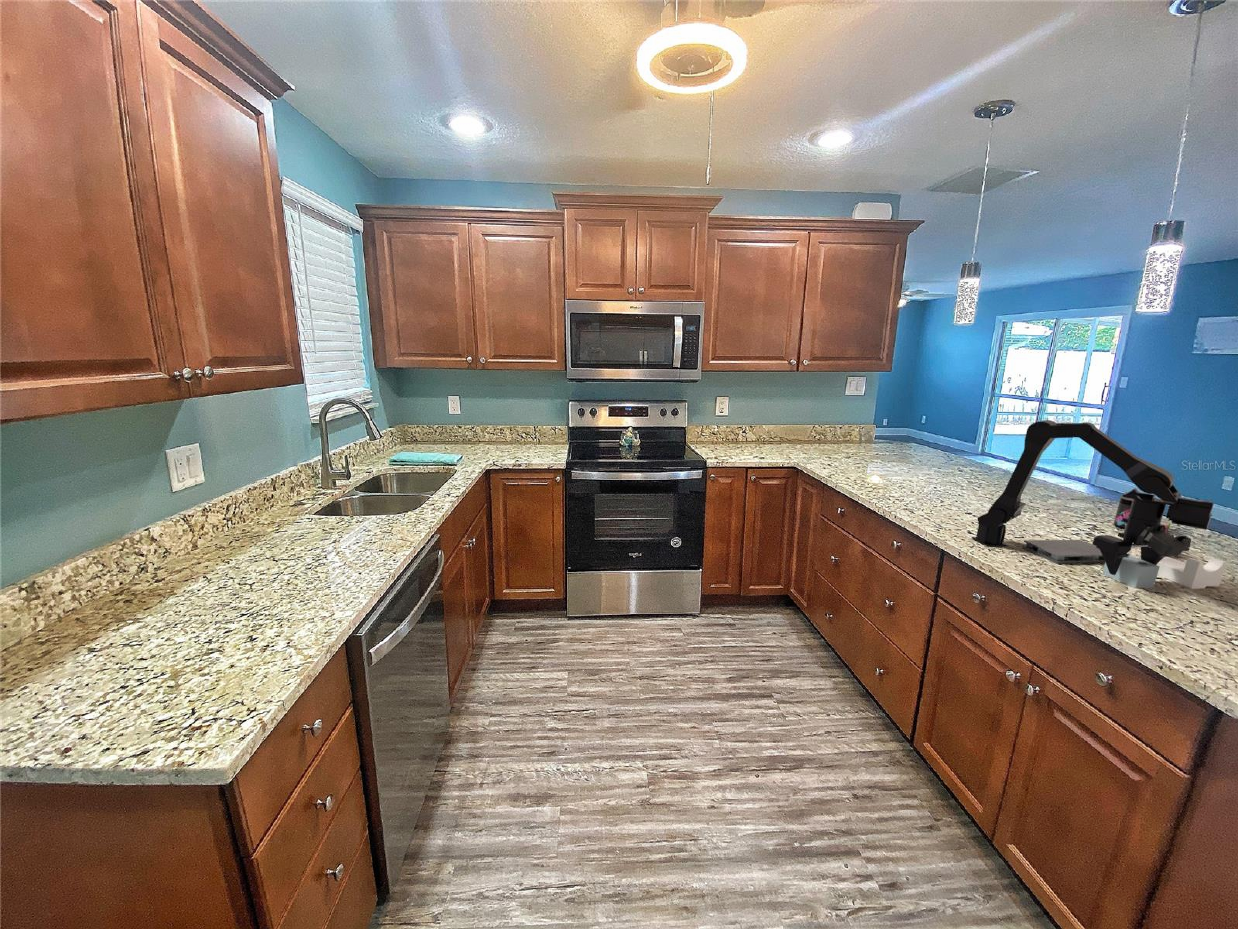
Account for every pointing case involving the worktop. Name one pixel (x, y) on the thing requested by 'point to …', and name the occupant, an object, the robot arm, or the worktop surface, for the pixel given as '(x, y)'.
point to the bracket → (1192, 572)
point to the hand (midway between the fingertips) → (1128, 574)
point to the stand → (1065, 551)
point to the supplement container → (1122, 512)
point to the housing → (1135, 572)
